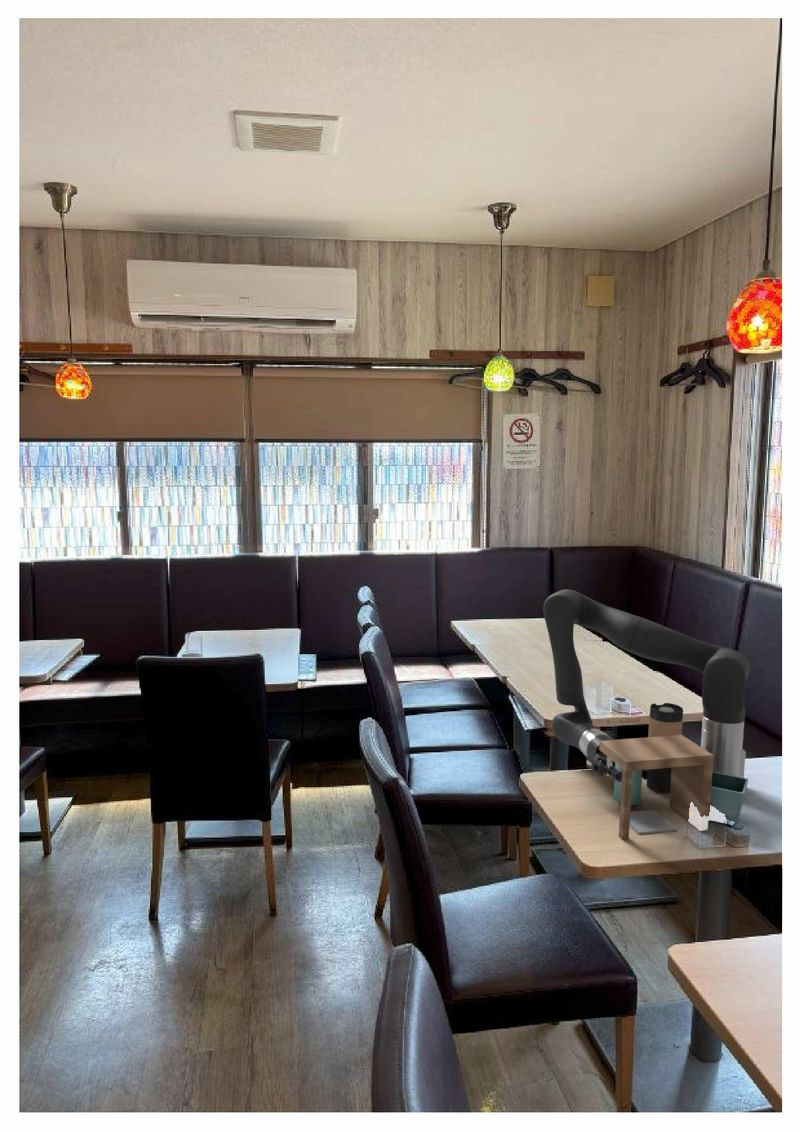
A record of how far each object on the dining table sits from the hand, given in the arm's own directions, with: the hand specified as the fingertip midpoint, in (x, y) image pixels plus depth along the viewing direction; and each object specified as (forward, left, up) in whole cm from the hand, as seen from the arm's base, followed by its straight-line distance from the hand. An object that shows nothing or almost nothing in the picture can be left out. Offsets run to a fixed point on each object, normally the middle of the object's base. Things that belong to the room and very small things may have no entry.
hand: (633, 776), depth 177 cm
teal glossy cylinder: (0, -2, -6) cm, 7 cm away
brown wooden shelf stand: (-1, +6, -8) cm, 10 cm away
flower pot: (-17, +8, -8) cm, 21 cm away
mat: (0, +6, -8) cm, 10 cm away
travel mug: (-13, -10, -8) cm, 18 cm away
